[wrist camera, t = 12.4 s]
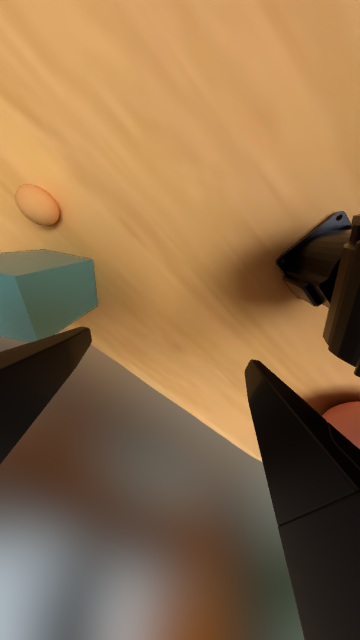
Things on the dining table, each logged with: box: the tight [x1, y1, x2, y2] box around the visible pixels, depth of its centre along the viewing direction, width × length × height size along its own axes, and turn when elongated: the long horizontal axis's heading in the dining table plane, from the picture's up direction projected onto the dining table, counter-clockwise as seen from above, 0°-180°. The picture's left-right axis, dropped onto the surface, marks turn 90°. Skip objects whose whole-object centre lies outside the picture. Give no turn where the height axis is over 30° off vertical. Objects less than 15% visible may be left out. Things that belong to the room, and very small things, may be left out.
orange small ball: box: [15, 184, 59, 225], centre depth 16 cm, size 3×3×3 cm
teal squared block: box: [0, 249, 98, 343], centre depth 17 cm, size 7×7×10 cm
